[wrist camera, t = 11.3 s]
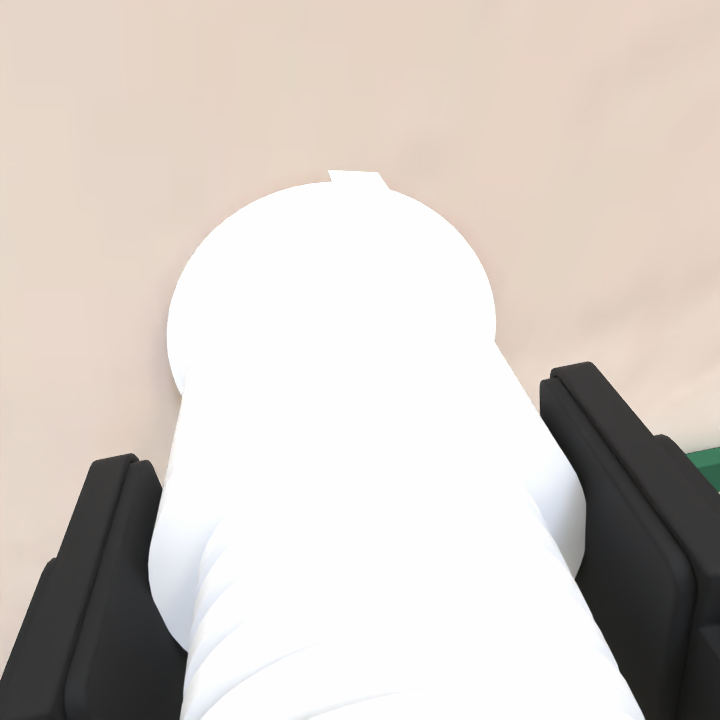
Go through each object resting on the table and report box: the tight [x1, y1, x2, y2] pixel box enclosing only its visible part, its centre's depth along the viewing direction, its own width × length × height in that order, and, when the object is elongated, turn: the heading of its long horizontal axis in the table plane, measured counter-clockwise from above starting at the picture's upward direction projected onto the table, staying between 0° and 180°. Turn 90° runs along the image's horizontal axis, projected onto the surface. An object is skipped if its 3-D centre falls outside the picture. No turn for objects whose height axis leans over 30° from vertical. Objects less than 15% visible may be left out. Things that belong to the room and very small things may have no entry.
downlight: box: [148, 170, 645, 720], centre depth 10 cm, size 8×7×10 cm
